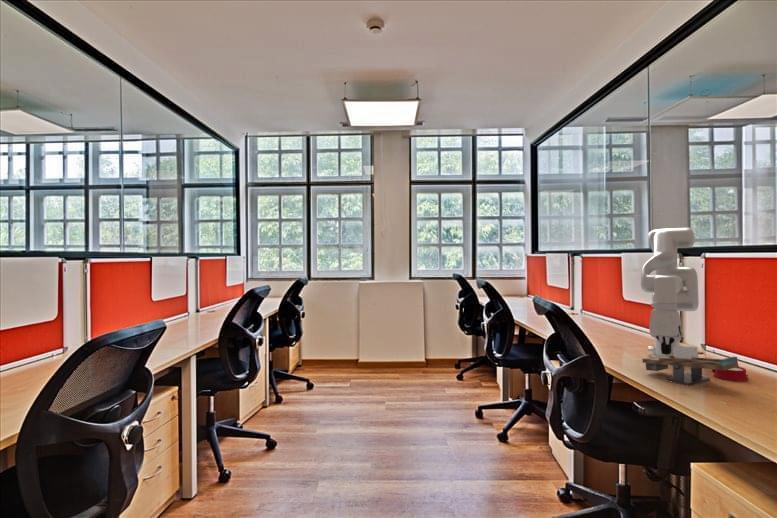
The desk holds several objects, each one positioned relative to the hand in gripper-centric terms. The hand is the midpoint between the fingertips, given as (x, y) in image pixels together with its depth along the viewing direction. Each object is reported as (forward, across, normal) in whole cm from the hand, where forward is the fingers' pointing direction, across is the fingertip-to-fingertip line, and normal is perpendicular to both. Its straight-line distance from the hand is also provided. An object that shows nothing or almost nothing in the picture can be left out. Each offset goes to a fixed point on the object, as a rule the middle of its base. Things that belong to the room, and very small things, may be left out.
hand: (666, 353), depth 165 cm
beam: (+6, +8, 0) cm, 10 cm away
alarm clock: (+9, +12, +19) cm, 25 cm away
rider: (+1, +7, 0) cm, 7 cm away
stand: (+9, +8, 0) cm, 12 cm away
